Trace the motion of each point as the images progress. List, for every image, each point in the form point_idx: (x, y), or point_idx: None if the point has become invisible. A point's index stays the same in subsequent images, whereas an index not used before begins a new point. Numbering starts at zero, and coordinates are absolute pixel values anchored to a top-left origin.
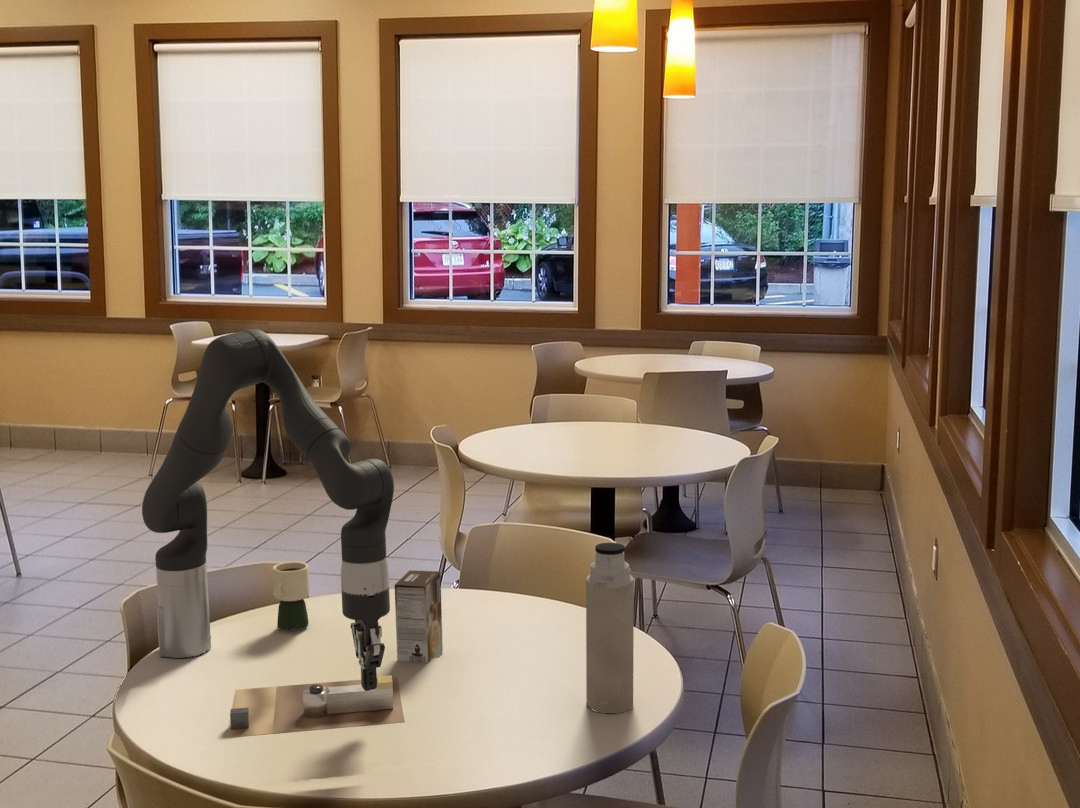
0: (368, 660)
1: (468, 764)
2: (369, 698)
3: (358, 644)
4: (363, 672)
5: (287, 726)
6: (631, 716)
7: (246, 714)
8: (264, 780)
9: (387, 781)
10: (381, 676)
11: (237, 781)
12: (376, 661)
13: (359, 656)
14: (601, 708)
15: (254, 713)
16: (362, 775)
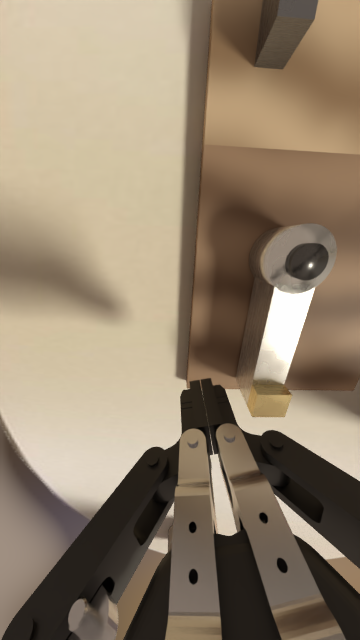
0: (96, 517)
1: (73, 432)
2: (248, 360)
3: (198, 561)
4: (194, 419)
5: (230, 186)
6: (160, 537)
7: (273, 16)
8: (14, 128)
9: (25, 349)
10: (287, 401)
11: (4, 46)
12: (154, 500)
13: (236, 456)
14: (172, 531)
15: (339, 87)
16: (42, 318)
